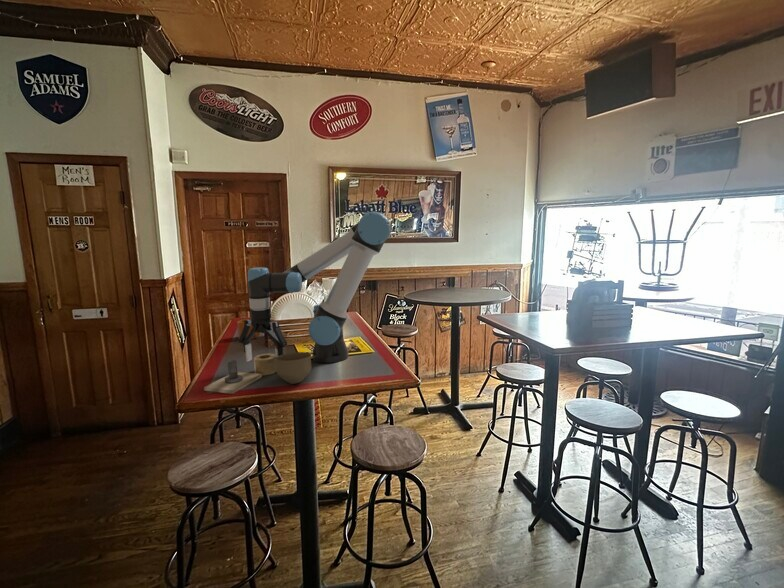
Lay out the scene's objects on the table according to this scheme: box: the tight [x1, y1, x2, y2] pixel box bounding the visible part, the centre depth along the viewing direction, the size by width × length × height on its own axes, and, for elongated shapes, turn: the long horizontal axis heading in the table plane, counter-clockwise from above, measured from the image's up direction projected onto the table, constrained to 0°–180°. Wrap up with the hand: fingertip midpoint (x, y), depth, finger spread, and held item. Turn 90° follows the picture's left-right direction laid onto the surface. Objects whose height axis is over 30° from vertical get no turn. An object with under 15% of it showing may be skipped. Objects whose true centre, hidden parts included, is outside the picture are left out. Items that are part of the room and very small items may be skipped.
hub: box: [203, 360, 263, 395], centre depth 147 cm, size 12×16×8 cm
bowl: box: [275, 351, 313, 385], centre depth 147 cm, size 13×13×10 cm
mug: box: [236, 318, 261, 340], centre depth 209 cm, size 9×12×9 cm
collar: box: [252, 353, 277, 376], centre depth 159 cm, size 8×8×6 cm
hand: (263, 362), depth 159 cm, fingers open, 13 cm apart
